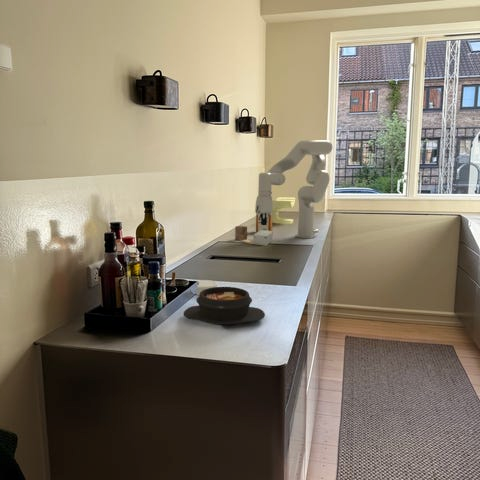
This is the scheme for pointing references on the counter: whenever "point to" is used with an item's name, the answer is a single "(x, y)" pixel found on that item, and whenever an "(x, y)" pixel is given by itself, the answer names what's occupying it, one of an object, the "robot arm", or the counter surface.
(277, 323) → the counter surface
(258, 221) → the baking soda box
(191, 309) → the casserole
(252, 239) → the brass plate
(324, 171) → the robot arm
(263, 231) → the skincare box
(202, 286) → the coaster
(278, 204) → the pale yellow c-shaped piece
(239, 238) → the walnut block
